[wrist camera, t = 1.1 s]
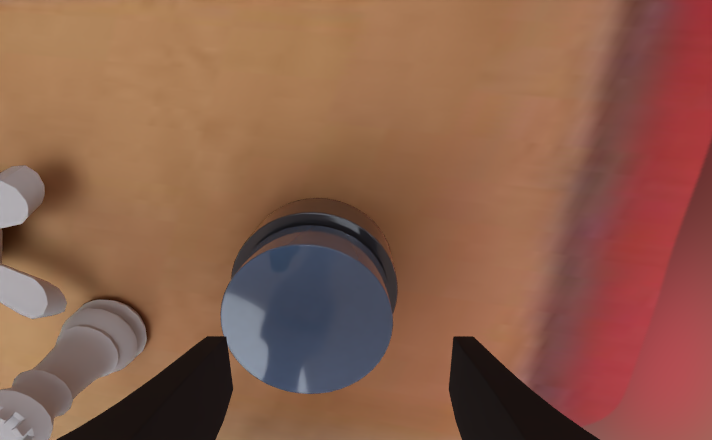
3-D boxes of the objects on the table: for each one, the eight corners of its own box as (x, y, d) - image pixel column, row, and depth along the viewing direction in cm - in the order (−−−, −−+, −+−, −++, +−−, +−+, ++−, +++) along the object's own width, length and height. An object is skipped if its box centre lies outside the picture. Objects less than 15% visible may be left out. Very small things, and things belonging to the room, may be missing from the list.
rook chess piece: (130, 369, 24) (23, 494, 16) (66, 331, 23) (-79, 445, 15) (164, 322, 23) (66, 432, 15) (98, 281, 22) (-40, 377, 14)
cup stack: (345, 353, 23) (342, 429, 18) (222, 291, 22) (178, 352, 17) (421, 245, 21) (443, 294, 16) (288, 168, 20) (262, 194, 14)
